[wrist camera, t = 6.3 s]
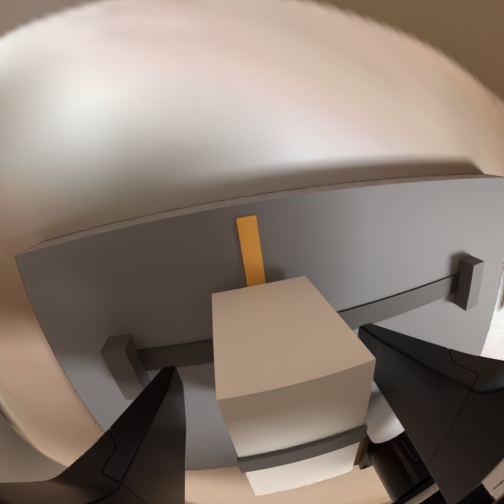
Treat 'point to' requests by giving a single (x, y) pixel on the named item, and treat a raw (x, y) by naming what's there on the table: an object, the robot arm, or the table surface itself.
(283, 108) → the table surface
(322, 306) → the block
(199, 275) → the console
